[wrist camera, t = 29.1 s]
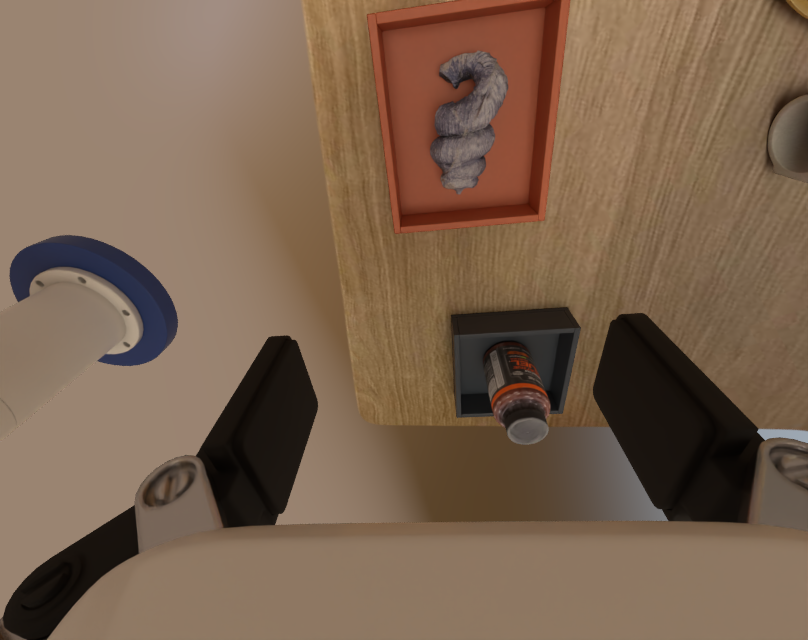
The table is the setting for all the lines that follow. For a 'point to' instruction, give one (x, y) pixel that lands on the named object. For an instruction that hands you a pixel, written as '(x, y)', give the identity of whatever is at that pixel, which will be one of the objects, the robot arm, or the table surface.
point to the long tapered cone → (790, 140)
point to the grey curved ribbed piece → (468, 119)
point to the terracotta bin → (425, 91)
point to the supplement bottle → (516, 392)
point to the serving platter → (799, 6)
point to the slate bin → (535, 329)
